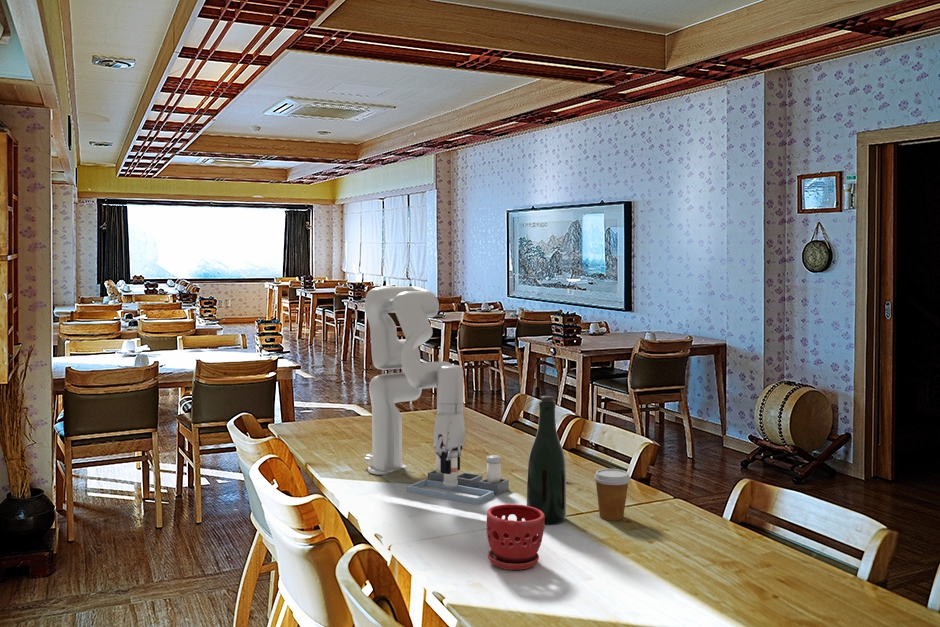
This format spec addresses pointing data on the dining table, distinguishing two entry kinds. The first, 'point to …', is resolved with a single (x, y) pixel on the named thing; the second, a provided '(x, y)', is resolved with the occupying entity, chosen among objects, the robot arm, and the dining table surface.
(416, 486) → the parts tray
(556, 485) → the green wine bottle
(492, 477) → the fuse
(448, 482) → the cylinder
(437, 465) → the ball
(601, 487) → the disposable coffee cup
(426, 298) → the robot arm
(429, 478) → the fuse holder
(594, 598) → the dining table surface
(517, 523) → the plant pot
